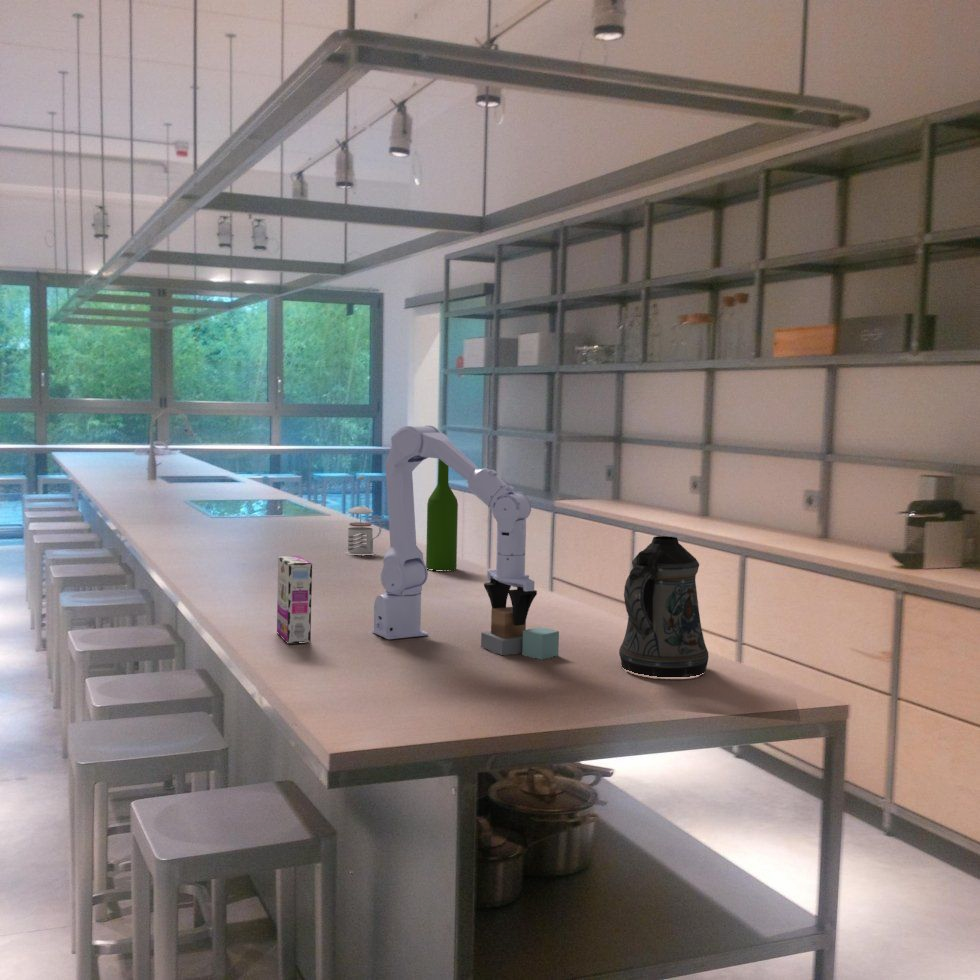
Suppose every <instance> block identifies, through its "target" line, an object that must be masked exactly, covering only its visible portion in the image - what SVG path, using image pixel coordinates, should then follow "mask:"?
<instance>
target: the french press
mask: <svg viewBox="0 0 980 980" xmlns="http://www.w3.org/2000/svg"><path fill="white" fill-rule="evenodd" d="M357 480H358V481H359V480H360V481H363V480H365V477H364V476H363V475H359V476H358V478H357ZM359 499H360V505H358V506H354V507H352V508H350V509H348V511H347V513H348V514H352V515H359V519H360V520H359V522H350V523H349V524H348V525H349V526H351V527H348V529H347V530H348V531H347V532H348V534H347V551H345V553H350V554H373V553H375V551H374V540H375V539H377V538H378V537H379V536H380V534H381V533H382V526H383V525H382V522H381V520H380V519H379V518H378V517H377V516H376V515H372V514H373V513H374V510H373V509H371V508H370V507H367V506H363V505H362V498H359ZM362 515H372V516H371V519H370V521H373V520H374V519H375V520H376V521H377V522H378V525H379V530H378V532H377V535H376V536H375V537H373V532H374V531H373V528H372V523H371V522H362ZM370 526H371V527H370ZM365 543H366V544H365Z"/></svg>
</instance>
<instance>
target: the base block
mask: <svg viewBox="0 0 980 980" xmlns="http://www.w3.org/2000/svg"><path fill="white" fill-rule="evenodd" d="M480 635H481V637H480V647H481V648H482V647H483V648H482V649H485V648H486V649H485V650H487V649H488V651H489V650H490V652H492V651H493V652H492V653H494V652H495V654H497V653H498V654H497V655H499V654H500V655H499V656H501V655H504V656H510V654H512V655H519V654H518V653H520V654H522V648H523V636H521V637H512V638H502V637H499V636H497V635H494V634H492V633H491V630H490V631H481V634H480Z"/></svg>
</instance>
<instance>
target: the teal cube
mask: <svg viewBox="0 0 980 980" xmlns="http://www.w3.org/2000/svg"><path fill="white" fill-rule="evenodd" d="M559 642H560V632H559V631H558V630H555V629H551V628H545V627H541V626H538V627H533V628H529V629H526V630H523V648H522V653H521V655H522V656H523V655H526V656H525V657H527V656H529V657H528V658H531V657H533V659H535V658H538V659H537V660H539V659H544V660H546V659H545V658H548V659H550V658H549V657H552V658H554V657H553V656H556V657H558V656H559V651H560V650H559V647H560V645H559V644H560V643H559ZM557 655H558V656H557Z"/></svg>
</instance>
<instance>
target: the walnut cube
mask: <svg viewBox="0 0 980 980" xmlns="http://www.w3.org/2000/svg"><path fill="white" fill-rule="evenodd" d="M490 617H491V622H490V624H491V625H490V626H491V627H490V631H491V633H492V634H494V635H497V636H499V637H502V638H512V637H521V636H523V630H527V629H526V627H527V620H526V621H525V625H518V626H516V625H514V621H513V608H512V606H506V607H504V608H494V609H492V608H491V614H490Z"/></svg>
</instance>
